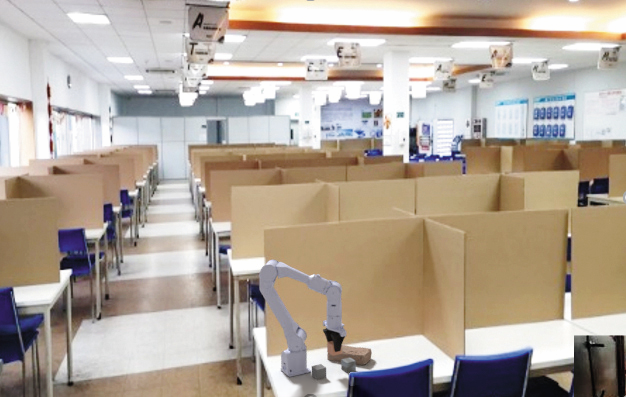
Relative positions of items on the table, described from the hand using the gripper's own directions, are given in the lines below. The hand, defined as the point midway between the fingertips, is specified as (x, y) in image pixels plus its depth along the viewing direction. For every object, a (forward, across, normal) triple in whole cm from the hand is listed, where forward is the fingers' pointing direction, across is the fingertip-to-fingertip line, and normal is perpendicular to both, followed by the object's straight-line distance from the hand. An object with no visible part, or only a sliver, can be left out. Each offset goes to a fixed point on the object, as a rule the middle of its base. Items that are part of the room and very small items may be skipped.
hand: (334, 349), depth 213 cm
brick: (+10, +8, -12) cm, 17 cm away
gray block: (+9, -1, +7) cm, 12 cm away
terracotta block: (+1, 0, 0) cm, 1 cm away
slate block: (+9, -1, -6) cm, 11 cm away
